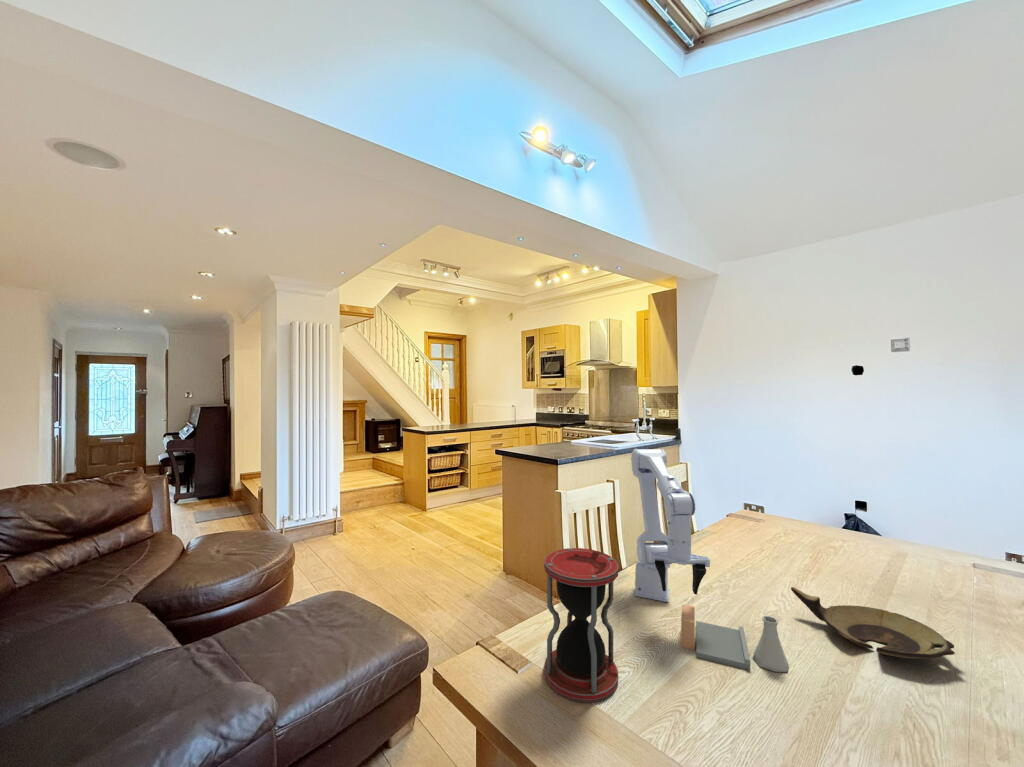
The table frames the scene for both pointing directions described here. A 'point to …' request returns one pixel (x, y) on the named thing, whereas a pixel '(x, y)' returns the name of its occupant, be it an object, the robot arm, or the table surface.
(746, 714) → the table surface
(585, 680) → the hourglass
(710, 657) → the grey tray
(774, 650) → the flask
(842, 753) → the table surface
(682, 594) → the table surface
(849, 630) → the oil lamp
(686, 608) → the slab
